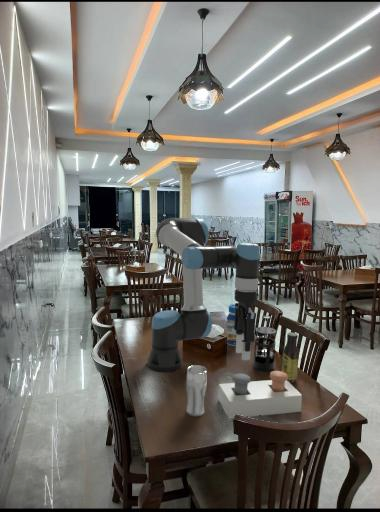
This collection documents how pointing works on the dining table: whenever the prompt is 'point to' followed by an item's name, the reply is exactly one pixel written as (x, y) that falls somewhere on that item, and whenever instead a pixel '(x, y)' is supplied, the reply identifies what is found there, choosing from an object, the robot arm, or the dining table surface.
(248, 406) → the block
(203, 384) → the beer glass
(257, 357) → the french press
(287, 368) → the sauce bottle
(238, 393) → the grey plug
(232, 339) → the beverage bottle
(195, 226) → the robot arm
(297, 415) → the dining table surface
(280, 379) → the terracotta plug
